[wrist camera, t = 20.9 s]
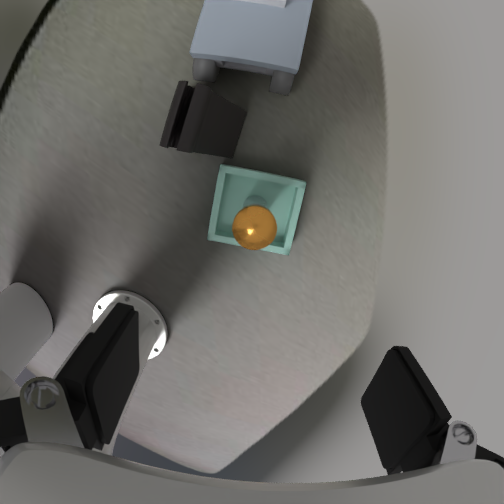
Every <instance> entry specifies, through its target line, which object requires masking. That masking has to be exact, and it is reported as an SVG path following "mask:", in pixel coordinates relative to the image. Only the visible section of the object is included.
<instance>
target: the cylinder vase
mask: <svg viewBox="0 0 504 504" xmlns="http://www.w3.org/2000/svg"><path fill="white" fill-rule="evenodd" d="M52 331H53V322H52V317H51V314H50V312H49V309H48V307H47V305H46V304H45V302H44V301H43V299H42V298H41V296H40V295H39V294H38V293H37V292H36V291H35V290H34V289H32V288H31V287H30V286H28V285H26V284H23V283H13V284H11V285H10V286H8V287H7V288H6V289H4V290H3V291H2V292H0V369H1V370H2V371H4V372H5V373H6V374H7V375H8V376H9V377H10V378H11V379H12V380H13V381H14V380H15V379H16V378H17V376H18V375H19V374H20V373H21V371H22V370H23V369H24V368H25V367H26V365H27V364H28V363H29V362H30V360H31V359H32V358H33V357H34V356H35V354H36V353H37V352H38V351H39V350H40V349H41V347H42V346H43V345H44V344H45V343H46V342H47V340H48V339H49V338H50V337H51V335H52Z"/></svg>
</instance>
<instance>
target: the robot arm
mask: <svg viewBox="0 0 504 504" xmlns="http://www.w3.org/2000/svg"><path fill="white" fill-rule="evenodd" d="M167 336H168V331H167V325H166V323H165V320H164V318H163V316H162V315H161V313H160V312H159V310H158V309H157V308H156V307H155V306H154V305H153V304H152V303H151V302H150V301H148V300H147V299H145V298H144V297H142V296H140V295H138V294H136V293H133V292H129V291H123V290H118V291H112V292H109V293H107V294H105V295H104V296H102V297H101V298H100V299H99V301H98V302H97V303H96V305H95V307H94V310H93V324H92V325H91V327H90V328H89V329H88V331H87V332H86V333H85V334H84V336H83V337H82V338H81V340H80V341H79V342H78V344H77V345H76V346H75V348H74V349H73V350H72V352H71V353H70V354H69V356H68V357H67V358H66V360H65V361H64V362H63V364H62V365H61V367H60V368H59V369H58V371H57V372H56V374H55V375H54V377H53V379H52V378H49V377H45V376H42V377H35V378H31V379H30V380H28V381H26V382H25V383H24V385H23V386H22V388H20V387H19V386H18V385H17V384H16V383H15V382H14V381H13V380H12V379H11V378H10V377H9V376H8V375H7V374H6V373H5V372H4V371H2V370H1V369H0V504H504V458H503V457H501V456H499V455H497V454H495V453H493V452H491V451H489V450H487V449H485V448H483V447H481V446H479V445H477V435H476V432H475V431H474V429H473V428H472V427H471V426H470V425H469V424H467V423H466V422H463V421H454V422H452V423H451V424H450V425H448V423H447V422H448V421H449V420H450V419H451V417H452V416H451V415H450V413H449V411H448V410H447V408H446V406H445V405H444V403H443V401H442V400H441V398H440V397H439V395H438V393H437V391H436V390H435V388H434V387H433V385H432V383H431V382H430V380H429V379H428V377H427V376H426V374H425V373H424V371H423V370H422V368H421V367H420V365H419V363H418V362H417V360H416V359H415V357H414V356H413V355H412V353H411V351H410V350H409V348H407V347H403V346H394V347H392V348H391V349H390V350H388V351H387V354H386V355H385V357H384V359H383V361H382V363H381V365H380V366H379V368H378V370H377V372H376V374H375V375H374V377H373V379H372V381H371V382H370V384H369V386H368V388H367V389H366V391H365V393H364V394H363V396H362V399H361V405H362V408H363V411H364V413H365V417H366V419H367V422H368V425H369V427H370V431H371V433H372V436H373V439H374V442H375V445H376V448H377V451H378V454H379V457H380V459H381V462H382V465H383V467H384V468H385V469H386V470H387V473H388V475H387V476H380V477H374V478H366V479H359V480H349V481H338V482H325V483H323V482H322V483H263V482H246V481H235V480H226V479H218V478H210V477H204V476H197V475H191V474H186V473H180V472H175V471H171V470H166V469H161V468H156V467H152V466H148V465H144V464H140V463H136V462H133V461H129V460H125V459H122V458H118V457H114V456H112V451H113V447H114V443H115V440H116V437H117V434H118V431H119V428H120V425H121V423H122V420H123V418H124V415H125V413H126V410H127V408H128V405H129V403H130V400H131V398H132V395H133V393H134V391H135V388H136V386H137V383H138V381H139V379H140V376H141V374H142V372H143V369H144V367H145V365H146V362H147V360H148V359H151V358H154V357H156V356H157V355H158V354H160V353H161V351H162V350H163V349H164V346H165V344H166V341H167ZM401 471H403V473H400V472H401Z"/></svg>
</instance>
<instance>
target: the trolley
mask: <svg viewBox="0 0 504 504" xmlns="http://www.w3.org/2000/svg"><path fill="white" fill-rule="evenodd" d="M312 2H313V0H205V2H204V5H203V8H202V11H201V14H200V18H199V21H198V24H197V27H196V31H195V34H194V38H193V41H192V45H191V49H190V52H189V53H190V54H191V56H192V57H193V58H194V62H193V78H194V80H198V81H207V82H215V81H216V79H217V76H218V73H219V70H220V67H222V68H229V69H236V70H242V71H248V72H254V73H259V74H265V75H270V76H272V79H271V83H270V88H269V92H273V93H278V94H283V95H287V96H288V95H289V93H290V90H291V87H292V83H293V80H294V76H295V74H296V73H297V72H298V70H299V66H300V61H301V56H302V51H303V46H304V41H305V37H306V32H307V27H308V22H309V17H310V12H311V7H312Z"/></svg>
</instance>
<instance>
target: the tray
mask: <svg viewBox="0 0 504 504" xmlns="http://www.w3.org/2000/svg"><path fill="white" fill-rule="evenodd" d="M306 183H307V182H305V181H303V180H300V179H296V178H291V177H287V176H282V175H277V174H273V173H268V172H263V171H258V170H253V169H248V168H243V167H237V166H232V165H226V164H221V165H220V167H219V173H218V178H217V183H216V189H215V195H214V200H213V206H212V212H211V218H210V224H209V230H208V236H207V240H211V241H216V242H222V243H227V244H232V245H237V246H241V245H240V244H239V243H238V242H237V241H236V240H235V238H234V236H233V232H232V225H233V221H234V218H235V216H236V214H237V213H238V212H239V211H240V210H241V209H242V207H243V203H244V201H245V200H246V199H247V198H248V197H250V196H253V195H257V196H260V197H262V198H263V199H264V200H265V201H266V203H267V207H268V209H269V210H270V211H271V212H272V214H273V215H274V217H275V220H276V223H277V233H276V236H275V239H274V240H273V241H272V243H271V244H270V245H268V246H267V247H265V248H263V249H259V250H264V251H269V252H274V253H280V254H285V255H289V252H290V249H291V245H292V241H293V237H294V233H295V229H296V225H297V220H298V216H299V212H300V208H301V204H302V200H303V195H304V191H305V187H306Z"/></svg>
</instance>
